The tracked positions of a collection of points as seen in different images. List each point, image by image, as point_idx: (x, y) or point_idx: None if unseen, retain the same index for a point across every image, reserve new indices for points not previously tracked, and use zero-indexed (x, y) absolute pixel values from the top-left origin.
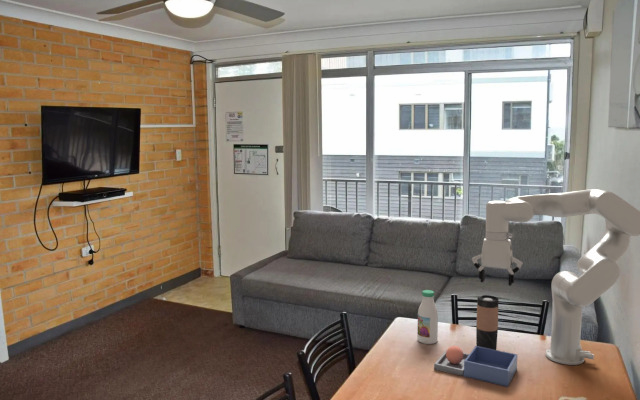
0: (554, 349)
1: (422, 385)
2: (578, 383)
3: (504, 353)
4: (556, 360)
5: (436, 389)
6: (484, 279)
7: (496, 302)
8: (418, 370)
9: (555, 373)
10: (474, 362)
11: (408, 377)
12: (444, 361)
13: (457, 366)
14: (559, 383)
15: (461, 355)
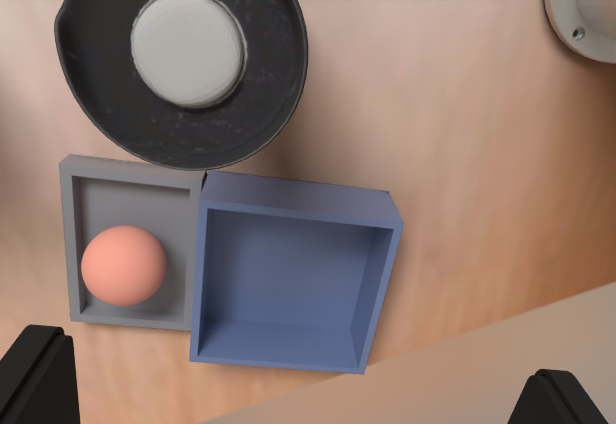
0: (605, 19)
1: (92, 412)
2: (604, 219)
3: (344, 221)
4: (580, 53)
5: (142, 417)
6: (66, 351)
7: (291, 115)
8: None
9: (540, 166)
10: (231, 359)
11: None
12: None
13: None
14: (534, 244)
15: (159, 286)
